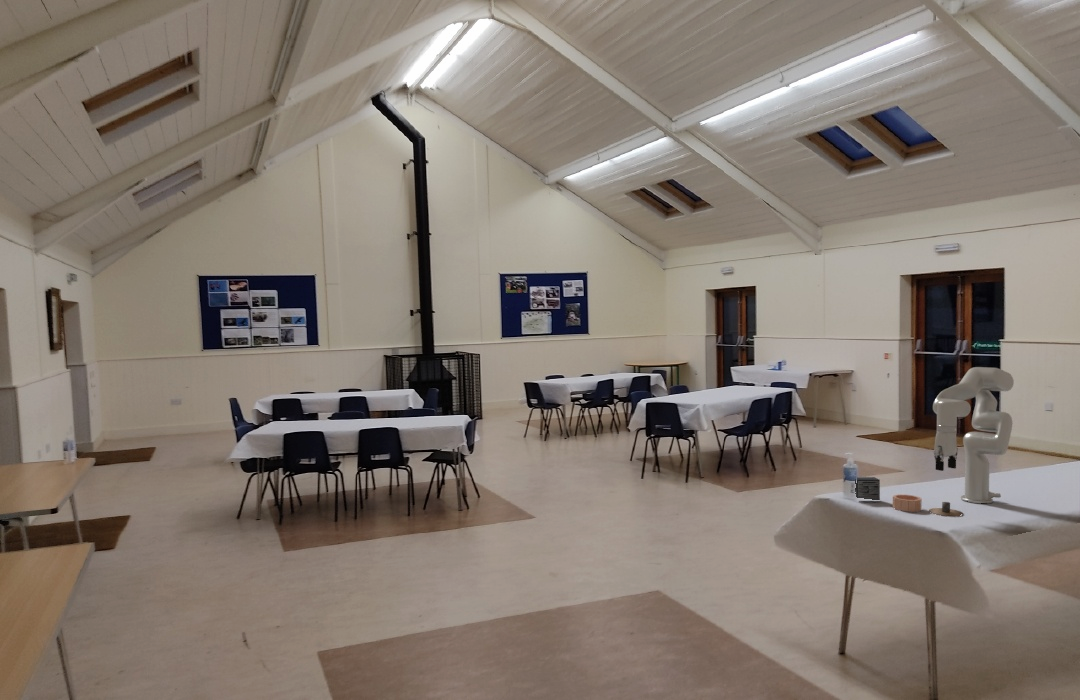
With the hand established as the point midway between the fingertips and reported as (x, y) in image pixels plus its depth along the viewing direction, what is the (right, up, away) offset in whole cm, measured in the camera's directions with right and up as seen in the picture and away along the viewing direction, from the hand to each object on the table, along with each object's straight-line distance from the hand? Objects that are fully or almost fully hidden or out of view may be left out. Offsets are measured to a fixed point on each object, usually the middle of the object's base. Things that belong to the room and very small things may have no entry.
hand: (945, 469), depth 316 cm
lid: (0, -19, 0) cm, 19 cm away
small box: (-24, -19, +23) cm, 38 cm away
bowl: (-13, -19, +8) cm, 24 cm away
